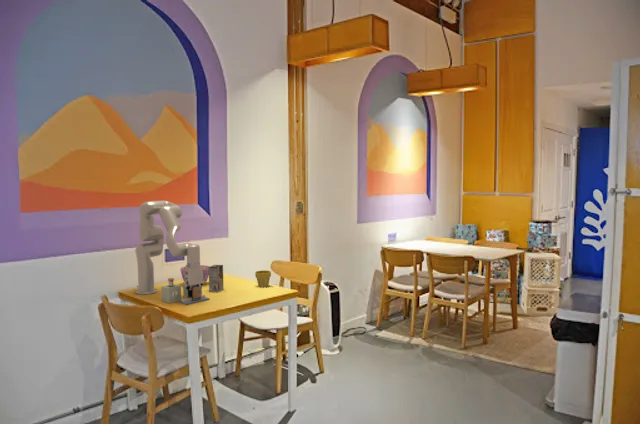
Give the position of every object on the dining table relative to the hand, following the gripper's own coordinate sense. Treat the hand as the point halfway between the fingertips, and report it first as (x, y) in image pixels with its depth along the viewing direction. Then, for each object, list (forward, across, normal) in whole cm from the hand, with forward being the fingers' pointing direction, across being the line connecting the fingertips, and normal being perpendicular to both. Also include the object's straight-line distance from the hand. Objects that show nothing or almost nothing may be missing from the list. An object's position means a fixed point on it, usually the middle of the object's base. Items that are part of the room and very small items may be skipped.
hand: (194, 295), depth 309 cm
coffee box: (+4, +26, +12) cm, 28 cm away
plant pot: (+4, +54, -2) cm, 54 cm away
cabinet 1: (+3, -8, +11) cm, 14 cm away
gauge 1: (-3, -8, +11) cm, 14 cm away
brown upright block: (+2, 0, 0) cm, 2 cm away
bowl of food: (+4, +28, +37) cm, 46 cm away
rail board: (+3, 0, 0) cm, 3 cm away
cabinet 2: (+3, +7, +11) cm, 13 cm away
